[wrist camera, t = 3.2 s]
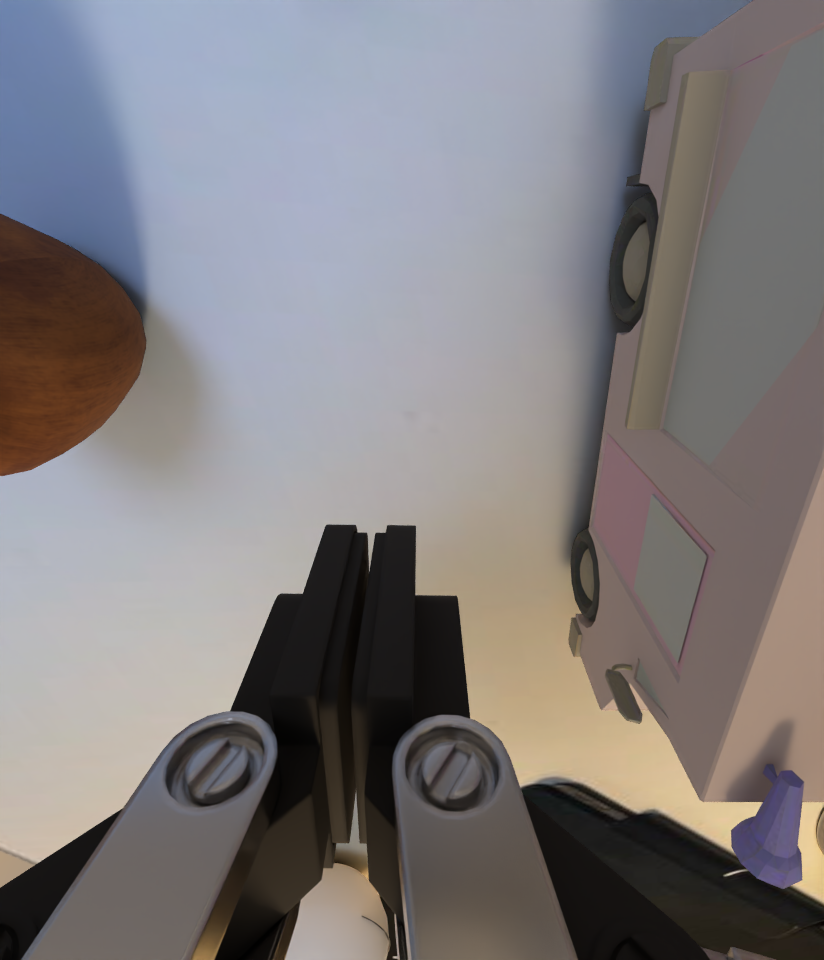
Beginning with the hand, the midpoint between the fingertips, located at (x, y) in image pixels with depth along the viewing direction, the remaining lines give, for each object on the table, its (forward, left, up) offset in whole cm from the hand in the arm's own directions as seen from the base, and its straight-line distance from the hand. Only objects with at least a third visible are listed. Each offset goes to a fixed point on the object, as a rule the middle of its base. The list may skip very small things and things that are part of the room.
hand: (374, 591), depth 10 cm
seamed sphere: (+31, -3, -11) cm, 33 cm away
